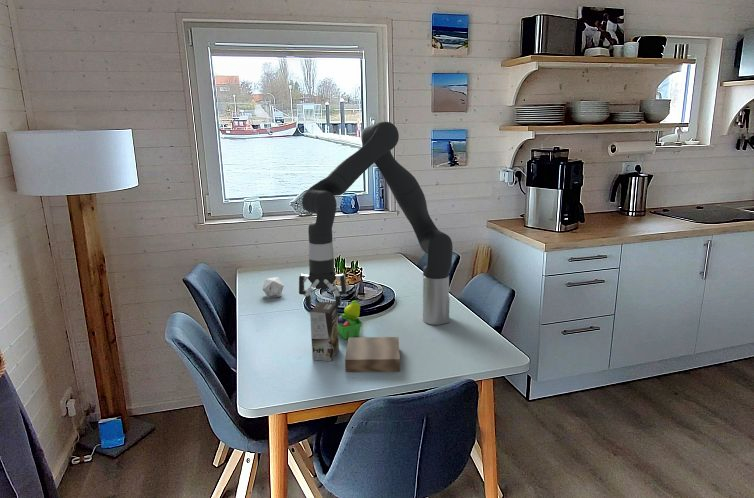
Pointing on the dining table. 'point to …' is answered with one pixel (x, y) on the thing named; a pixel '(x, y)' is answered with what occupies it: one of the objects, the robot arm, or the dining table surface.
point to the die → (273, 287)
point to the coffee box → (324, 331)
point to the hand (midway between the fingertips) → (323, 306)
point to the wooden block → (372, 354)
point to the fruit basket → (350, 321)
